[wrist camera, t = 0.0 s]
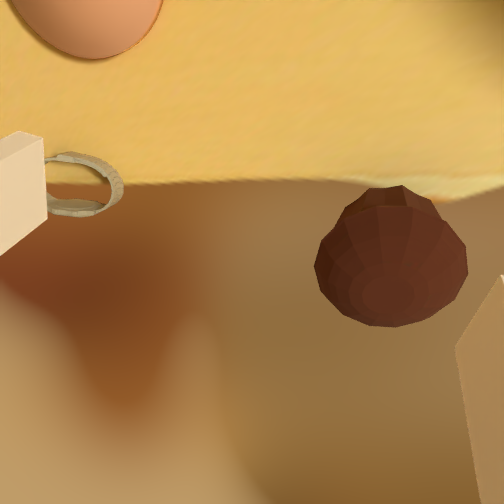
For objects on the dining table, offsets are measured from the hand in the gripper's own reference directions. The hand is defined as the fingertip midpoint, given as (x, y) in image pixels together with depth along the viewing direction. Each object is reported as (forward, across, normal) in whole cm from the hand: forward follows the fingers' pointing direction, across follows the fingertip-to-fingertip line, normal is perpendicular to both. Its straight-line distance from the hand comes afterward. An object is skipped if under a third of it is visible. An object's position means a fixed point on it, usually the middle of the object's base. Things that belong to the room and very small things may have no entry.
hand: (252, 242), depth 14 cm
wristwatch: (+28, -21, -17) cm, 39 cm away
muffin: (+28, +9, -13) cm, 32 cm away
